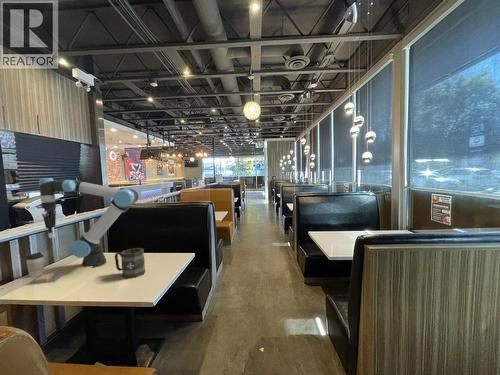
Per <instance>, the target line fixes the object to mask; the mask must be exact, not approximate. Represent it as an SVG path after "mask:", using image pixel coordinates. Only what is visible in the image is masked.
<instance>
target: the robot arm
mask: <svg viewBox="0 0 500 375" xmlns="http://www.w3.org/2000/svg"><path fill="white" fill-rule="evenodd" d="M38 183H39V184H38V186H39V193H40V197H39V199H40V202H41V203H40V205H41V209H44V212H43V213H42V217H43V218H42V219H43V222H44V226H45V229H47V232H48V238H49V239H51V238H52V239H53V238H55V236H56V235H55V227H56V222H57V221H56V218H57V217H56V214H57V211H56V210H55V208H56V207H57V205H56V204H57V203H56V195H55V193H64V192H67V193H68V192H76V193H83V194H88V195H93V196H99V197H105V198H110V199H111V200H110V206H109V207H108V208H107V209H106V210H105V212H103V214H102V215H101V216H100V217H99V218H98V220H97V221H96V222H95V223H94V224H93V225H92V227H91V228H90V229H89V230H88V232H84V233H82V235H80V237H79V238H78V239H77V240H75V241H74V242H73V243H72V244H71V247H70V251H71V253H72V255H73V256H74V257H76V258H78V259H79V258H81V259H82V258H83V259H82V262H81V266H82V267H87V268H88V267H90V268H91V269H92V268H98V267H100V266H103V265H105V264H107V258H106V255H105V254H104V250H103V237H104V234H105V233H107V231H108V230H109V229H110V227H111V226H112V225H113V224H114V222H116V220H117V219H118V218H119V216H120V215H121V214H122V213H125V212H127V211H128V210H129V208H130V207H131V206H132V205H134V204H136V203H137V201H138V200H139V193H138V192H137V190H135V189H133V188H126V187H125V188H123V187H120V188H116V187H112V186H111V187H110V186H107V185H101V184H96V183H90V182H85V181H80V180H77V179H73V180H72V179H64V180H63V179H62V180H54V177H53V178H52V177H45V178H40V179H38Z"/></svg>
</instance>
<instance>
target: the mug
mask: <svg viewBox="0 0 500 375" xmlns="http://www.w3.org/2000/svg"><path fill="white" fill-rule="evenodd" d="M144 250H145V249H144V248H142V247H136V248H135V247H134V248H129V249H124V250H122V251H118V252H116V253H115V254H114V260H115V267H116V269H117V271H119V272H120V271H121V272H122V278H124V279H133V278H134V279H136V278H140V277H142V276H144V275H145V273H146V268H145V262H146V261H145V254H144ZM118 255H119V256H120V257H121V268H120V264H119V259H118V258H119V257H118Z"/></svg>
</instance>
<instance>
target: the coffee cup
mask: <svg viewBox="0 0 500 375" xmlns="http://www.w3.org/2000/svg"><path fill="white" fill-rule="evenodd" d="M25 261H26V267H27V271H28V277H31V278H32V277H33V278H34V277H39V276H40V275H44V262H45V261H44V254H43V253H41V251H40V252H36V253H30V254H28V255H27V256H26V257H25Z"/></svg>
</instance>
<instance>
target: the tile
mask: <svg viewBox="0 0 500 375" xmlns="http://www.w3.org/2000/svg"><path fill="white" fill-rule="evenodd" d="M54 274H55V273H50V274H49V273H48V274H47V273H46V274H42V276H40V275H39V276H40V277H39V276H38V277H39V278H37V277H36V278H37V279H35V278H34V279H35V283H39V282H47V281H49V280H50V279H52V278H53V277H54Z"/></svg>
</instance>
